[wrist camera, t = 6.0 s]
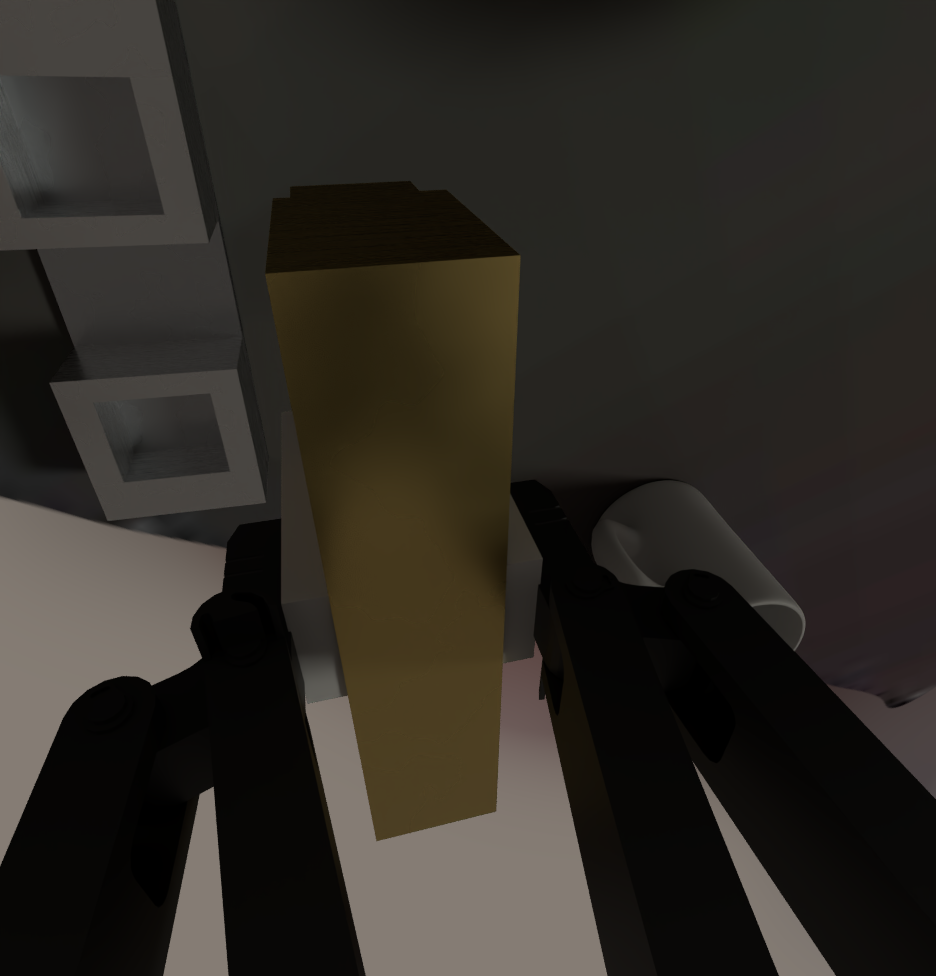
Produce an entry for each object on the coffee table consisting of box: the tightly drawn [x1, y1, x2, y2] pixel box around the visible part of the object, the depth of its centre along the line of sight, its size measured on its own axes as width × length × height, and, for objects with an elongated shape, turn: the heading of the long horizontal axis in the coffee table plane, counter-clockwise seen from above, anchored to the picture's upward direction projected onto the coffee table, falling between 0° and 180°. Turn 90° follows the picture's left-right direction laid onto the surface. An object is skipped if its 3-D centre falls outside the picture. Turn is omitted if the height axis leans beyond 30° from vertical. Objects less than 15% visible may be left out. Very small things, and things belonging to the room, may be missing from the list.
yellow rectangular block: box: [265, 181, 520, 841], centre depth 14 cm, size 14×3×7 cm, turn 0°
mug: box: [591, 480, 805, 651], centre depth 37 cm, size 12×8×11 cm
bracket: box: [0, 0, 269, 521], centre depth 25 cm, size 19×7×4 cm, turn 179°
